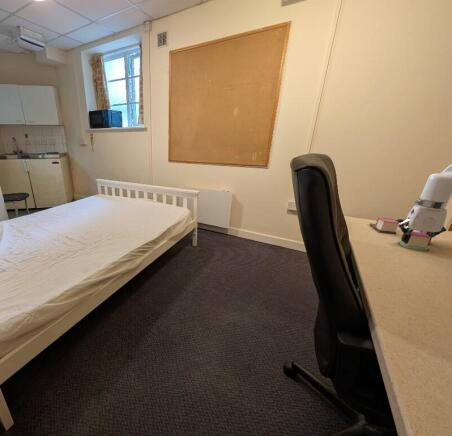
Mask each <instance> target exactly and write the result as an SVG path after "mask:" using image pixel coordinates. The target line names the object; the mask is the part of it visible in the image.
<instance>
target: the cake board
mask: <svg viewBox="0 0 452 436" xmlns="http://www.w3.org/2000/svg"><path fill="white" fill-rule="evenodd" d="M375 225H376V223H369V226H370V227H371V228H373V229H374V230H376V231H377V232H379V233H380V234H381V233H382V234H391V235H396V234H397V231H396V232H391V231H382V230H379V229H378V228H377V227H375Z"/></svg>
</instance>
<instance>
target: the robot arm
mask: <svg viewBox="0 0 452 436" xmlns="http://www.w3.org/2000/svg"><path fill="white" fill-rule="evenodd" d="M451 196H452V163H451V164H450V165H448V166H447V167H446V168H445V169H443V171H441V172H439V173H438V172H437V173H432V174H430V175H429V176H428V178H427V180H426V183H425V185H424V187H423V189H422V192H421V194H420V196H419V198H418V199H415V200H414V202H413V203H414V204H415V205H413V207H412V208H411V210H410V211H409V212H408V214H407V216H406V218H405V219H404V220H405V221H403V222H401V223H399V224H397V226H398V227H397V228H399V229H400V231H401V232H402V236H401V238H400V242H401V241H403V242H404V243H408V241H409V238H410V236H411V235H410V233H411V232H415V231H416V230H418V231H426V234H427V235H429V236H430V237H431V238H430V240H429V242H428V245H427V247H429V244H430V243H431V241H432V239H433V238H435V237H437V236H438V235H440V234H442V233H444V232H446V231H447V229H446V227H445V222H446V219H447V215H448V209H447V208H446V207H447V205H448V202H449V200H450V199H451Z"/></svg>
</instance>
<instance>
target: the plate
mask: <svg viewBox="0 0 452 436" xmlns="http://www.w3.org/2000/svg"><path fill="white" fill-rule="evenodd" d="M399 245H401V247H404V248H407V249H410V250H414V251H419V252H425V251H427V249H428V246H427V247H419V246H411V245H407V244H406V243H404V242H403V241H401V240H400V242H399Z"/></svg>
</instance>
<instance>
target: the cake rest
mask: <svg viewBox="0 0 452 436" xmlns="http://www.w3.org/2000/svg"><path fill="white" fill-rule="evenodd" d="M378 218H379V221H378V223H377V226H376V227H377V228H378V229H379V230H382V231H391V232H396V233H397V230H398V228H399V227H398V226H397V224H399V222H397V221H395V220H396V219H394V220H392V219H393V218H388V219H381V218H382V217H378Z"/></svg>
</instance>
